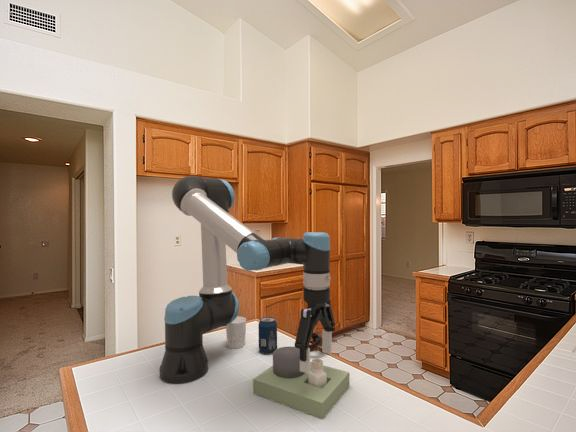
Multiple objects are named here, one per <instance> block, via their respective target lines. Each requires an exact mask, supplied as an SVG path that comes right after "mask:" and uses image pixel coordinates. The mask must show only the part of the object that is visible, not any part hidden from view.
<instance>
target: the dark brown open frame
mask: <svg viewBox="0 0 576 432" xmlns="http://www.w3.org/2000/svg"><path fill="white" fill-rule="evenodd" d="M311 340H313V343H311V344H310V343H309V346H308V348H310V353H313V352H319V347H322V334H321V333H320V331H318V330H316V331H313V333H312V337H311Z"/></svg>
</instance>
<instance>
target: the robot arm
mask: <svg viewBox="0 0 576 432" xmlns="http://www.w3.org/2000/svg"><path fill="white" fill-rule="evenodd" d="M171 198H172V202H173V203H174V205H175V207H176V208H177V209H178V210H179V211H180V212H182V214H184V215H185V216H191V217H192V218H193V219H195V221H197V222H198V223H200V238H201V259H202V260H201V261H202V287H201V288H200V289H199V291H198V295H188V296H181V297H179V298H175V299H173V300H172V301H170V302H169V303H167V305H166V307H165V311H164V317H163V319H164V320H163V321H164V338H165V339H164V348H165V349H164V353H163V357H162V361H161V364H160V366H159V379H160V380H161V381H162V382H164V383H167V384H185V383H189V382H193V381H196V380H197V379H200V378H202V377H204V376H205V375H206V374H207V373H208V371H209V360H208V357H207V354H206V351H205V349H204V346H203V344H204V343H203V339H204V337H203V335H204V334H206V333H209V332H211V331H214V330H216V329H220V328H223V327H226V325H227V324H229V323H231V322H233V321H234V320H235V319H236V317H238V314H239V311H240V301H239V299H238V298H237V295H236V294H235V293H234V292H233V289H232V288H233V287H231V286H230V285H229V284H228V267H227V247H229V248H230V249H231V250H232V251H233V252H235V253H236V258H237V262H238V264H239V266H240V267H241V268H242V269H244V270H245V271H250V272H251V271H262V270H263V269H268V268H272V267H277V266H282V265H286V264H287V265H288V264H293V265H300V266H301V265H302V268H303V273H302V275H303V279H302V280H303V282H302V285H303V286H304V287H303V288H302V289H303V291H302V292H303V297H302V298H303V301H304V302H305V303H307V307H306V308H301V311H300V318H299V323H298V328H297V332H296V337H295V341H294V347H295V348H299V349H300V371H301V372H304V373H307V374H309V373H310V362H311V352H310V348H308V346H309V345H310V342H311V340H312V333H313V332H314V329H315V328H316V326H317V325H318V323H319V322H320V324H321V326H322V328H323V330H322V332H321V335H322V346H321V347H322V348H321V350H322V351H321V352H322V353H324V354H328V355H332V349H333V348H332V347H333V345H332V344H333V343H332V342H333V341H332V339H333V338H332V334H333V332H335V331H336V328H335V326H336V323H335V318H334V314H333V309H332V305H331V303H332V302H331V289H330V285H331V284H330V283H331V280H332V277H331V271H330V270H331V269H330V268H331V266H330V263H331V260H330V259H331V242H330V241H331V240H330V238H331V237H330V234H328V233H327V232H321V231H319V232H318V231H317V232H315V231H313V232H311V231H307V232H304V233H303V237H302V238H295V237H284V236H282V237H273V238H271V239H263V238H262V237H261V236H259V235H258V234H257V233H255V232H254V231H252V230H251V229H250V228H249V227H247V226H246V225H245V224H243V223H242V222H241V221H239V220H238V219H236V218H235V217H234V216H233V215H232V214H230V213H229V211H230V209H232V207H233V204H234V203H235V200H236V199H235V198H236V197H235V191H234V188H233V187H232V185H231V184H230V183H229V182H228V181H226V180H225V179H220V178H214V177H207V176H199V175H198V176H197V175H188V176H184V177H182V178H179V179H178V180H177V182H175V184H174V185H173V188H172V191H171Z"/></svg>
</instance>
